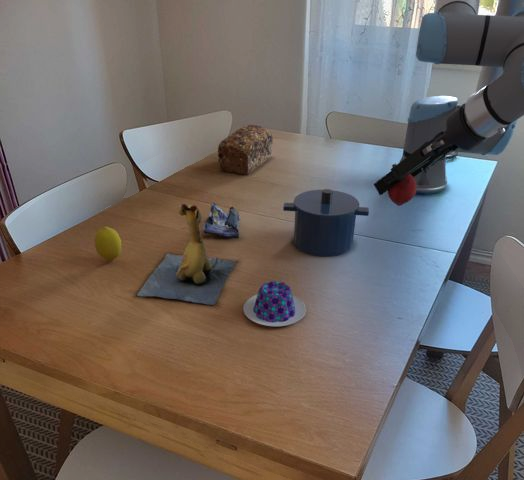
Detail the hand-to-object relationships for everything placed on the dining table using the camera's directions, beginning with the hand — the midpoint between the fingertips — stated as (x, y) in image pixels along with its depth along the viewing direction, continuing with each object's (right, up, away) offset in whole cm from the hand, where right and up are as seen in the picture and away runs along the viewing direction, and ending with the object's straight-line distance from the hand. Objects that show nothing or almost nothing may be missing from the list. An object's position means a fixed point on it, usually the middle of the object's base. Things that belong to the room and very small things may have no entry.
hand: (387, 185), depth 115 cm
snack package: (-35, -6, +18) cm, 40 cm away
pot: (-12, -10, +13) cm, 20 cm away
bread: (-31, +23, +55) cm, 68 cm away
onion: (+3, -4, 0) cm, 5 cm away
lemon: (-60, -15, +5) cm, 62 cm away
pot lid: (-12, -2, +7) cm, 14 cm away
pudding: (-24, -27, -10) cm, 38 cm away
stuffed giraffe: (-42, -20, 0) cm, 46 cm away
